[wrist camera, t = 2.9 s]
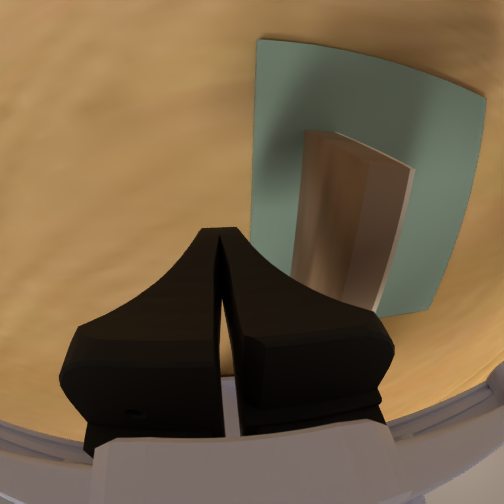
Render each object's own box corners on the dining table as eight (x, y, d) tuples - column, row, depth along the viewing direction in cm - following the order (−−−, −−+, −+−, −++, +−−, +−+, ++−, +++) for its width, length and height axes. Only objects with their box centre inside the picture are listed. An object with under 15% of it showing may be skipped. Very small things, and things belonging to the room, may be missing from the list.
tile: (317, 277, 16) (356, 359, 11) (289, 279, 16) (321, 365, 11) (337, 132, 12) (415, 169, 7) (304, 129, 12) (369, 163, 7)
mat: (425, 306, 20) (428, 309, 20) (247, 328, 18) (248, 332, 18) (482, 97, 12) (486, 98, 11) (256, 40, 10) (257, 39, 10)
